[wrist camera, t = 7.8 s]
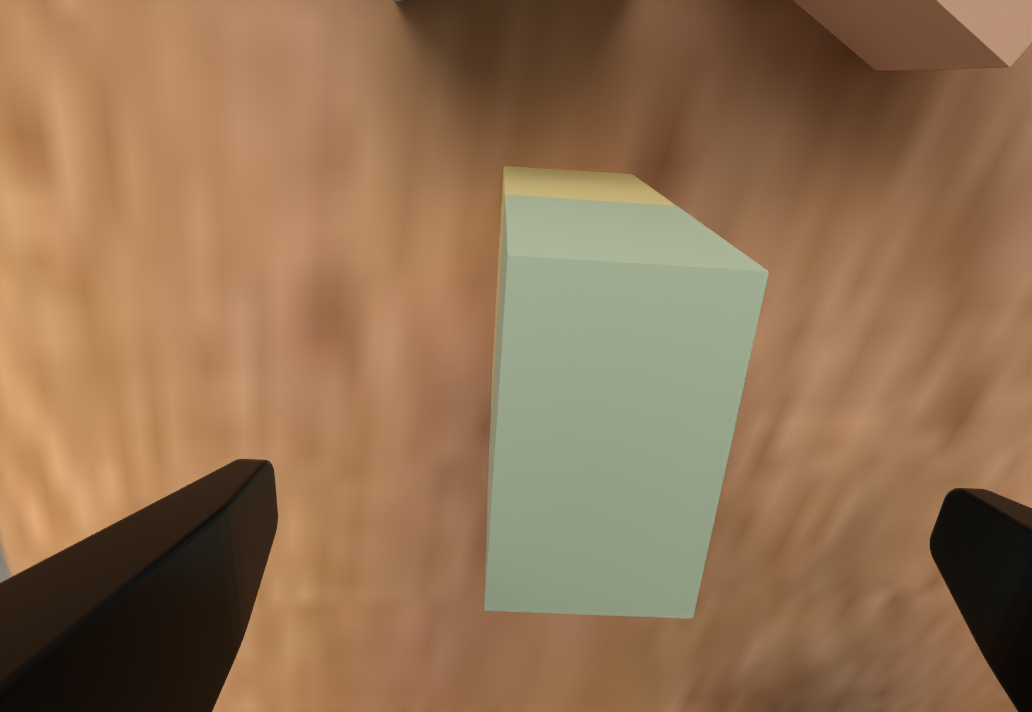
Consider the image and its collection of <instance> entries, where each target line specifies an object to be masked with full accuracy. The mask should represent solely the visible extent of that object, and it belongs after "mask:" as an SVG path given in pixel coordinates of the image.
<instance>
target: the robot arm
mask: <svg viewBox="0 0 1032 712" xmlns="http://www.w3.org/2000/svg"><path fill="white" fill-rule="evenodd" d="M277 523H278V509H277V498H276V486H275V475H274V469H273V466H272V464H271V463H270V462H269V461H268V460H257V459H238V460H235V461H233V462H231V463H229V464H228V465H226V466H224V467H222V468H220V469H218V470H216V471H214V472H212V473H210V474H208V475H206V476H205V477H203V478H201V479H199V480H197V481H195V482H193V483H191V484H189V485H187V486H185V487H183V488H181V489H180V490H178V491H176V492H174V493H172V494H170V495H168V496H166V497H164V498H162V499H160V500H158V501H157V502H155V503H153V504H151V505H149V506H147V507H145V508H143V509H141V510H139V511H137V512H135V513H133V514H132V515H130V516H128V517H126V518H124V519H122V520H120V521H118V522H116V523H114V524H112V525H110V526H109V527H107V528H105V529H103V530H101V531H99V532H97V533H95V534H93V535H91V536H89V537H87V538H85V539H84V540H82V541H80V542H78V543H76V544H74V545H72V546H70V547H68V548H66V549H64V550H62V551H60V552H59V553H57V554H55V555H53V556H51V557H49V558H47V559H45V560H43V561H41V562H39V563H37V564H36V565H34V566H32V567H30V568H28V569H26V570H24V571H22V572H20V573H18V574H16V575H14V576H12V577H11V578H9V579H7V580H5V581H3V582H1V583H0V712H212V710H213V708H214V706H215V704H216V701H217V699H218V697H219V694H220V692H221V690H222V688H223V685H224V683H225V681H226V678H227V676H228V674H229V672H230V669H231V667H232V665H233V662H234V660H235V658H236V655H237V653H238V650H239V648H240V645H241V643H242V640H243V638H244V635H245V632H246V629H247V626H248V623H249V620H250V616H251V613H252V610H253V606H254V603H255V600H256V597H257V593H258V590H259V587H260V583H261V580H262V577H263V573H264V570H265V567H266V564H267V560H268V557H269V554H270V550H271V547H272V544H273V540H274V537H275V534H276V529H277ZM930 551H931V555H932V557H933V559H934V561H935V563H936V565H937V567H938V569H939V571H940V573H941V575H942V577H943V579H944V581H945V583H946V585H947V587H948V589H949V591H950V593H951V594H952V596H953V598H954V600H955V602H956V604H957V606H958V608H959V610H960V612H961V614H962V616H963V618H964V620H965V622H966V624H967V626H968V628H969V629H970V631H971V633H972V635H973V637H974V639H975V641H976V643H977V645H978V647H979V649H980V650H981V652H982V654H983V656H984V658H985V660H986V661H987V663H988V664H989V666H990V668H991V669H992V671H993V673H994V674H995V676H996V678H997V679H998V681H999V682H1000V684H1001V686H1002V687H1003V689H1004V690H1005V692H1006V693H1007V695H1008V697H1009V698H1010V700H1011V701H1012V703H1013V704H1014V706H1015V708H1016V709H1017V711H1018V712H1032V508H1030V507H1027V506H1025V505H1022V504H1020V503H1017V502H1015V501H1013V500H1010V499H1008V498H1005V497H1003V496H1001V495H998V494H996V493H993V492H991V491H988V490H985V489H972V488H955V489H953V490H951V491H950V492H949V493H948V494H947V495H946V496H945V498H944V501H943V504H942V507H941V509H940V512H939V515H938V518H937V520H936V523H935V526H934V528H933V531H932V534H931V537H930Z"/></svg>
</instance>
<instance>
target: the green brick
mask: <svg viewBox="0 0 1032 712" xmlns="http://www.w3.org/2000/svg"><path fill="white" fill-rule="evenodd" d="M768 273H769V271H768V270H766V269H765V268H763V267H762V266H761V265H759V264H758V263H756V262H755V261H754V260H752V259H751V258H749V257H748V256H747V255H745V254H744V253H742V252H741V251H740V250H738V249H737V248H735V247H734V246H733V245H731V244H730V243H728V242H727V241H726V240H724V239H723V238H721V237H720V236H719V235H717V234H716V233H714V232H713V231H712V230H710V229H709V228H707V227H706V226H705V225H703V224H702V223H700V222H699V221H698V220H696V219H695V218H693V217H692V216H691V215H689V214H688V213H686V212H685V211H684V210H682V209H681V208H679V207H678V206H669V205H654V204H639V203H624V202H609V201H594V200H579V199H564V198H549V197H535V196H520V195H505V204H504V221H503V237H502V253H501V269H500V285H499V301H498V317H497V333H496V349H495V366H494V382H493V398H492V414H491V430H490V446H489V471H488V505H487V539H486V573H485V606H484V611H504V612H531V613H557V614H584V615H610V616H637V617H663V618H689V619H693V616H694V612H695V607H696V602H697V598H698V593H699V589H700V584H701V580H702V575H703V570H704V566H705V561H706V557H707V552H708V548H709V543H710V538H711V534H712V529H713V525H714V520H715V516H716V511H717V506H718V502H719V497H720V493H721V488H722V484H723V479H724V474H725V470H726V465H727V461H728V456H729V452H730V447H731V443H732V438H733V433H734V429H735V424H736V420H737V415H738V411H739V406H740V401H741V397H742V392H743V388H744V383H745V379H746V374H747V369H748V365H749V360H750V356H751V351H752V347H753V342H754V337H755V333H756V328H757V324H758V319H759V315H760V310H761V305H762V301H763V296H764V292H765V287H766V283H767V278H768Z"/></svg>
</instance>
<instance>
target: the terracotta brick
mask: <svg viewBox="0 0 1032 712" xmlns="http://www.w3.org/2000/svg"><path fill="white" fill-rule="evenodd" d="M793 1H794V2H795V3H796V4H798V5H799V6H800V7H801V8H802V9H804V10H805V11H806V12H807V13H808V14H809V15H811V16H812V17H813V18H814V19H815V20H817V21H818V22H819V23H820V24H821V25H822V26H824V27H825V28H826V29H827V30H828V31H829V32H831V33H832V34H833V35H834V36H835V37H837V38H838V39H839V40H840V41H841V42H842V43H844V44H845V45H846V46H847V47H848V48H849V49H851V50H852V51H853V52H854V53H855V54H857V55H858V56H859V57H860V58H861V59H862V60H864V61H865V62H866V63H867V64H868V65H870V66H871V67H872V68H873V69H874V70H875V71H892V70H929V69H967V68H1004V67H1011V66H1012V65H1013V63H1014V62H1015V61H1016V60H1017V59H1018V58H1019V56H1020V55H1021V54H1022V53H1023V52H1024V51H1025V49H1026V48H1027V47H1028V46H1029V45H1030V44H1031V42H1032V0H793Z"/></svg>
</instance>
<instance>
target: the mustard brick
mask: <svg viewBox="0 0 1032 712" xmlns="http://www.w3.org/2000/svg"><path fill="white" fill-rule="evenodd" d="M505 195H520V196H535V197H549V198H564V199H579V200H594V201H609V202H624V203H639V204H654V205H669V206H676V205H675V204H673V203H672V202H670V201H669V200H668V199H666V198H665V197H663V196H662V195H661V194H659V193H658V192H657V191H655V190H654V189H652V188H651V187H650V186H648V185H647V184H645V183H644V182H643V181H641V180H640V179H638V178H637V177H636V176H634V175H633V174H624V173H608V172H592V171H576V170H561V169H545V168H529V167H513V166H503V184H502V202H501V220H500V238H499V256H498V275H497V293H496V311H495V329H494V347H493V365H492V398H493V382H494V366H495V349H496V333H497V317H498V301H499V285H500V269H501V253H502V237H503V221H504V204H505ZM492 398H491V414H492Z"/></svg>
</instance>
